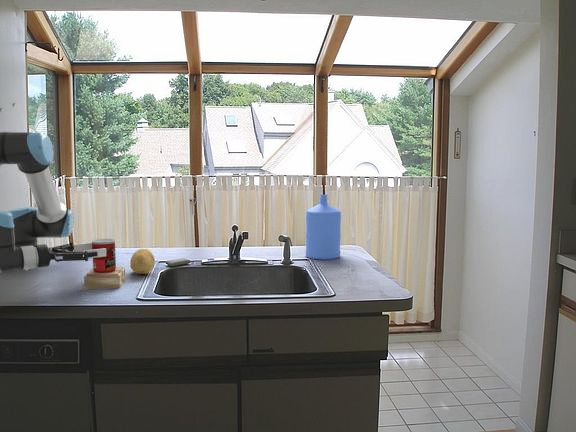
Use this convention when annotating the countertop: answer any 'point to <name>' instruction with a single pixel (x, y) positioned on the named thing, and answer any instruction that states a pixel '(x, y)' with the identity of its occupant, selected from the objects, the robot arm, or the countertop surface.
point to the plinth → (104, 279)
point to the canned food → (107, 261)
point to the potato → (142, 261)
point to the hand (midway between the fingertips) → (98, 249)
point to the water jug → (323, 231)
